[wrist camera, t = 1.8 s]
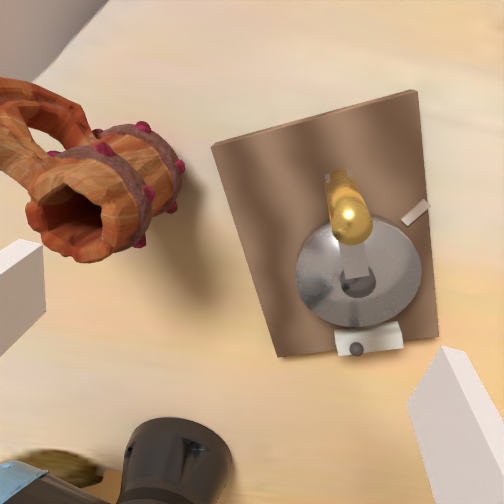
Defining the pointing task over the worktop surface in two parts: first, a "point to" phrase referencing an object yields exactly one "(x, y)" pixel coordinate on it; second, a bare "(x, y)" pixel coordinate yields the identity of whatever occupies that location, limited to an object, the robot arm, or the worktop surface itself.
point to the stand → (316, 212)
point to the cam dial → (356, 261)
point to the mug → (85, 174)
